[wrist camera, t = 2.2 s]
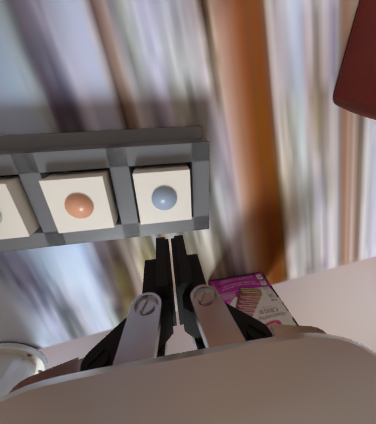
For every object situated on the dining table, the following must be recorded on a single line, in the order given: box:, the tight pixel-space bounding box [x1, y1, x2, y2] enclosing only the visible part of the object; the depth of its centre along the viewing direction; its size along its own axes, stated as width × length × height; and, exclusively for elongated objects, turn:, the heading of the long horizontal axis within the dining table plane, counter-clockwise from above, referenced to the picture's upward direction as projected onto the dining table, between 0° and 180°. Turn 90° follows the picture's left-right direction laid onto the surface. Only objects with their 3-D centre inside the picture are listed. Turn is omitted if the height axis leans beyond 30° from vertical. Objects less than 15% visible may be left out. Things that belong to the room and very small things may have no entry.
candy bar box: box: [208, 272, 299, 326], centre depth 31 cm, size 11×5×16 cm, turn 95°
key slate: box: [133, 164, 192, 225], centre depth 23 cm, size 6×6×3 cm
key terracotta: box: [39, 170, 119, 233], centre depth 22 cm, size 6×6×3 cm
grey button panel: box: [0, 126, 209, 252], centre depth 24 cm, size 14×29×5 cm, turn 92°
